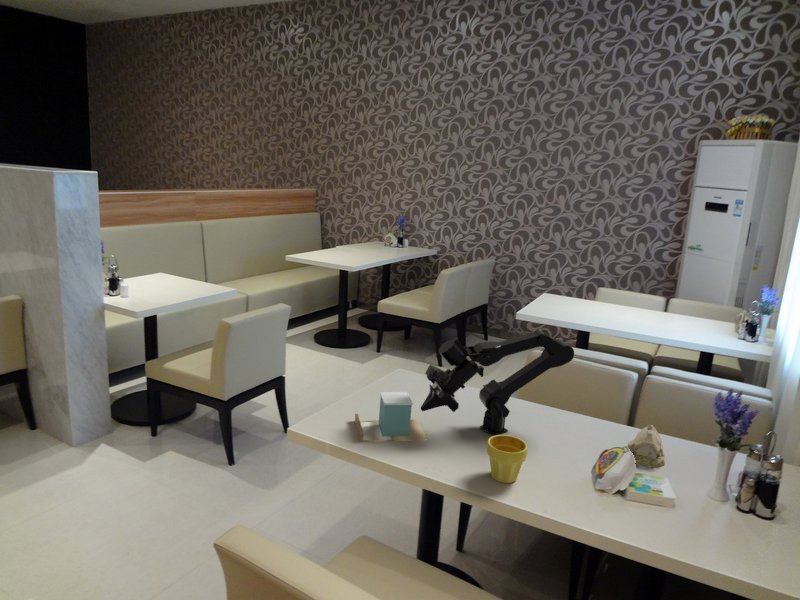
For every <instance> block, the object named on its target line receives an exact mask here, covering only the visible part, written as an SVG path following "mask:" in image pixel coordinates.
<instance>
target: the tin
mask: <svg viewBox="0 0 800 600" xmlns="http://www.w3.org/2000/svg"><path fill="white" fill-rule="evenodd" d="M379 396H380V397H379V398H380V399H379V400H380V401H379V414H378V421H379V427H380V430H381V433H382V436H409V431H410V420H412V419H411V418H412V406H413V403H414V402H413V401H412V399H411V397H410V396H409V393H408V392H407V391H390V392H389V391H380V392H379Z"/></svg>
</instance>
